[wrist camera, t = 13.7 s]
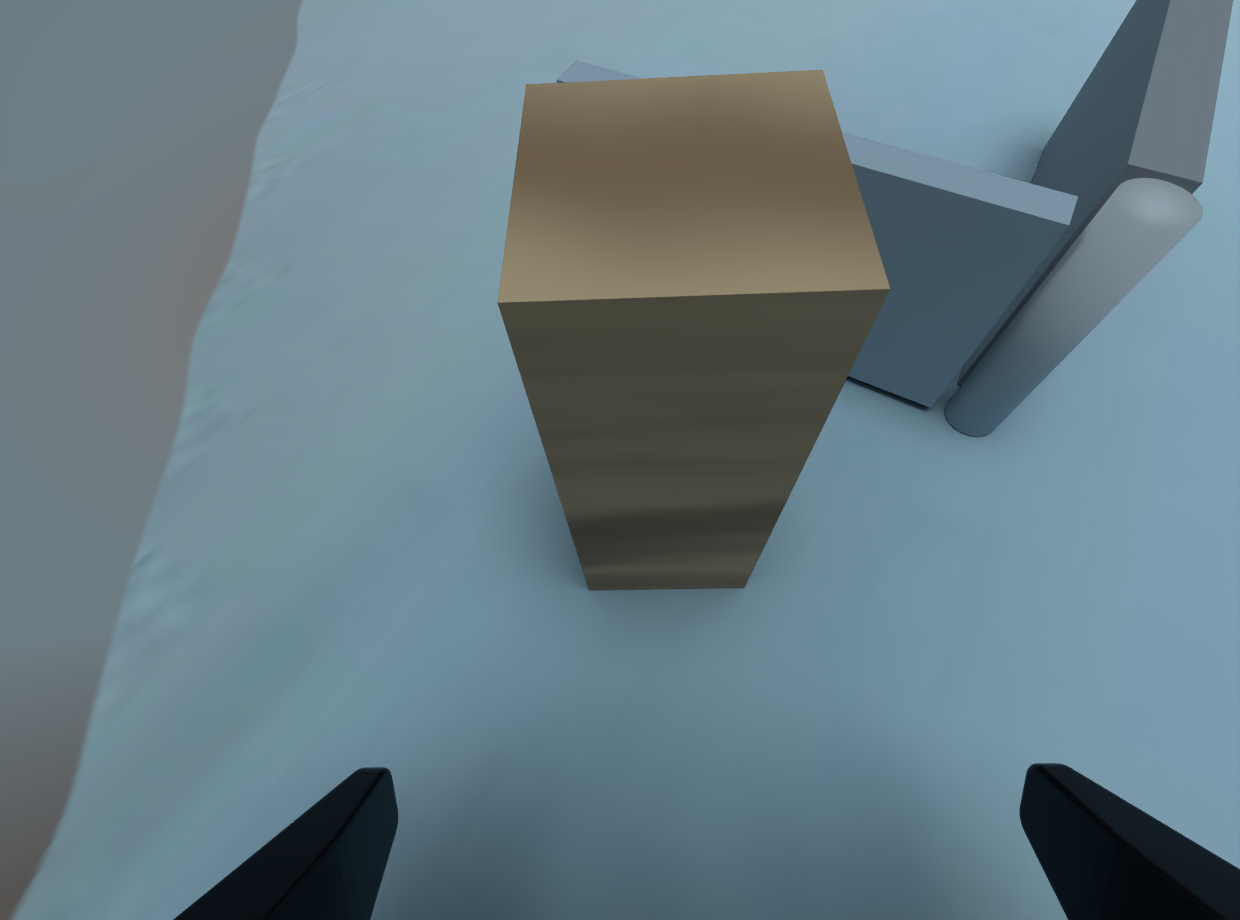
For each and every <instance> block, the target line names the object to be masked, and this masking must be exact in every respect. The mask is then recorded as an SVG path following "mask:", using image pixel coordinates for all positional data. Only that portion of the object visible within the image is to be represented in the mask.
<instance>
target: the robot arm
mask: <svg viewBox="0 0 1240 920" xmlns="http://www.w3.org/2000/svg"><path fill="white" fill-rule="evenodd" d="M1020 819H1021V824H1022V827H1023V829H1024V831H1025V834H1026V836H1027V838H1028V840H1029V842H1030V844H1031V846H1032V848H1033V850H1034V852H1035V854H1036V856H1037V858H1038V860H1039V862H1040V864H1041V866H1042V868H1043V870H1044V872H1045V874H1046V876H1047V878H1048V880H1049V882H1050V884H1051V886H1052V888H1053V890H1054V892H1055V894H1056V896H1057V898H1058V900H1059V902H1060V904H1061V906H1062V908H1063V910H1064V912H1065V914H1066V916H1067V918H1068V920H1240V869H1238V868H1237V867H1235V866H1233V865H1232V864H1230V863H1228V862H1227V861H1225V860H1223V859H1222V858H1220V857H1218V856H1217V855H1215V854H1213V853H1212V852H1210V851H1208V850H1207V849H1205V848H1203V847H1202V846H1200V845H1198V844H1197V843H1195V842H1193V841H1192V840H1190V839H1188V838H1187V837H1185V836H1183V835H1182V834H1180V833H1178V832H1177V831H1175V830H1173V829H1172V828H1170V827H1168V826H1167V825H1165V824H1163V823H1162V822H1160V821H1158V820H1157V819H1155V818H1153V817H1152V816H1150V815H1148V814H1147V813H1145V812H1143V811H1142V810H1140V809H1138V808H1137V807H1135V806H1133V805H1132V804H1130V803H1128V802H1127V801H1125V800H1123V799H1122V798H1120V797H1118V796H1117V795H1115V794H1113V793H1112V792H1110V791H1108V790H1107V789H1105V788H1103V787H1102V786H1100V785H1098V784H1097V783H1095V782H1093V781H1092V780H1090V779H1088V778H1087V777H1085V776H1083V775H1082V774H1080V773H1078V772H1077V771H1075V770H1073V769H1072V768H1070V767H1068V766H1066V765H1063V764H1058V763H1037V764H1032V765H1031V766H1030V767H1029V768H1028V770H1027V773H1026V778H1025V783H1024V788H1023V794H1022V799H1021V804H1020ZM397 825H398V808H397V802H396V797H395V791H394V785H393V780H392V775H391V772H390V771H389V769H387V768H384V767H374V768H360V769H358V770H357V771H355V772H354V773H353V774H351V775H350V776H349V777H348V778H347V779H345V780H344V781H343V782H342V783H340V784H339V785H338V786H337V787H335V788H334V789H333V790H332V791H331V792H329V793H328V794H327V795H326V796H324V797H323V798H322V799H321V800H320V801H318V802H317V803H316V804H315V805H313V806H312V807H311V808H310V809H308V810H307V811H306V812H305V813H304V814H302V815H301V816H300V817H299V818H297V819H296V820H295V821H294V822H293V823H291V824H290V825H289V826H288V827H286V828H285V829H284V830H283V831H281V832H280V833H279V834H278V835H277V836H275V837H274V838H273V839H272V840H270V841H269V842H268V843H267V844H266V845H264V846H263V847H262V848H261V849H259V850H258V851H257V852H256V853H254V854H253V855H252V856H251V857H250V858H248V859H247V860H246V861H245V862H243V863H242V864H241V865H240V866H239V867H237V868H236V869H235V870H234V871H232V872H231V873H230V874H229V875H227V876H226V877H225V878H224V879H223V880H221V881H220V882H219V883H218V884H216V885H215V886H214V887H213V888H212V889H210V890H209V891H208V892H207V893H205V894H204V895H203V896H202V897H200V898H199V899H198V900H197V901H196V902H194V903H193V904H192V905H191V906H189V907H188V908H187V909H186V910H185V911H183V912H182V913H181V914H180V915H178V916H177V917H176V918H175V919H173V920H370V918H371V915H372V911H373V908H374V905H375V901H376V898H377V894H378V891H379V888H380V884H381V881H382V878H383V874H384V871H385V867H386V864H387V861H388V857H389V854H390V850H391V847H392V844H393V840H394V837H395V834H396V830H397Z"/></svg>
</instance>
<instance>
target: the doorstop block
mask: <svg viewBox="0 0 1240 920" xmlns="http://www.w3.org/2000/svg"><path fill="white" fill-rule="evenodd" d="M889 290H890V286H889V283H888V280H887V277H886V273H885V270H884V267H883V264H882V260H881V257H880V254H879V251H878V248H877V244H876V241H875V238H874V235H873V231H872V228H871V225H870V222H869V218H868V215H867V212H866V209H865V206H864V202H863V199H862V196H861V193H860V189H859V186H858V183H857V180H856V176H855V173H854V170H853V167H852V164H851V160H850V157H849V154H848V151H847V147H846V144H845V141H844V138H843V134H842V131H841V128H840V125H839V122H838V118H837V115H836V112H835V109H834V105H833V102H832V99H831V96H830V93H829V89H828V86H827V83H826V80H825V76H824V73H823V70H809V71H789V72H769V73H749V74H728V75H708V76H688V77H668V78H647V79H627V80H607V81H587V82H566V83H546V84H526V90H525V98H524V105H523V113H522V121H521V128H520V136H519V143H518V151H517V159H516V166H515V174H514V181H513V189H512V197H511V204H510V212H509V219H508V227H507V235H506V242H505V250H504V257H503V265H502V273H501V280H500V288H499V295H498V306H499V309H500V312H501V315H502V318H503V321H504V325H505V328H506V331H507V334H508V337H509V340H510V343H511V346H512V350H513V353H514V356H515V359H516V362H517V365H518V368H519V372H520V375H521V378H522V381H523V384H524V387H525V390H526V394H527V397H528V400H529V403H530V406H531V409H532V412H533V415H534V419H535V422H536V425H537V428H538V431H539V434H540V437H541V441H542V444H543V447H544V450H545V453H546V456H547V459H548V463H549V466H550V469H551V472H552V475H553V478H554V481H555V484H556V488H557V491H558V494H559V497H560V500H561V503H562V506H563V510H564V513H565V516H566V519H567V522H568V525H569V528H570V532H571V535H572V538H573V541H574V544H575V547H576V550H577V553H578V557H579V560H580V563H581V566H582V569H583V572H584V575H585V579H586V582H587V585H588V588H589V590H636V589H698V588H744V587H745V585H746V583H747V581H748V579H749V577H750V575H751V573H752V571H753V569H754V567H755V565H756V563H757V561H758V559H759V557H760V555H761V553H762V550H763V548H764V546H765V544H766V542H767V540H768V538H769V536H770V534H771V532H772V530H773V528H774V526H775V524H776V522H777V520H778V518H779V516H780V514H781V512H782V510H783V507H784V505H785V503H786V501H787V499H788V497H789V495H790V493H791V491H792V489H793V487H794V485H795V483H796V481H797V479H798V477H799V475H800V473H801V471H802V469H803V467H804V465H805V462H806V460H807V458H808V456H809V454H810V452H811V450H812V448H813V446H814V444H815V442H816V440H817V438H818V436H819V434H820V432H821V430H822V428H823V426H824V424H825V422H826V419H827V417H828V415H829V413H830V411H831V409H832V407H833V405H834V403H835V401H836V399H837V397H838V395H839V393H840V391H841V389H842V387H843V385H844V383H845V381H846V379H847V376H848V374H849V372H850V370H851V368H852V366H853V364H854V362H855V360H856V358H857V356H858V354H859V352H860V350H861V348H862V346H863V344H864V342H865V340H866V338H867V336H868V333H869V331H870V329H871V327H872V325H873V323H874V321H875V319H876V317H877V315H878V313H879V311H880V309H881V307H882V305H883V303H884V301H885V299H886V297H887V295H888V293H889Z"/></svg>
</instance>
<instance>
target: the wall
mask: <svg viewBox="0 0 1240 920" xmlns="http://www.w3.org/2000/svg"><path fill="white" fill-rule="evenodd" d="M1232 4H1233V0H1136V2H1135V4H1134V5H1133V7H1132V8H1131V10H1130V12H1129V13H1128V15H1127V16H1126V18H1125V20H1124V21H1123V23H1122V24H1121V26H1120V28H1119V29H1118V31H1117V32H1116V34H1115V36H1114V37H1113V39H1112V40H1111V42H1110V44H1109V45H1108V47H1107V48H1106V50H1105V52H1104V53H1103V55H1102V56H1101V58H1100V60H1099V61H1098V63H1097V65H1096V66H1095V68H1094V69H1093V71H1092V73H1091V74H1090V76H1089V77H1088V79H1087V81H1086V82H1085V84H1084V85H1083V87H1082V89H1081V90H1080V92H1079V93H1078V95H1077V97H1076V98H1075V100H1074V101H1073V103H1072V105H1071V106H1070V108H1069V109H1068V111H1067V113H1066V114H1065V116H1064V117H1063V119H1062V121H1061V122H1060V124H1059V125H1058V127H1057V129H1056V130H1055V132H1054V133H1053V135H1052V137H1051V138H1050V140H1049V141H1048V143H1047V145H1046V146H1045V148H1044V150H1043V153H1042V156H1041V158H1040V161H1039V164H1038V166H1037V169H1036V172H1035V175H1034V177H1033V180H1032V183H1031V184H1034V185H1038V186H1041V187H1045V188H1049V189H1053V190H1056V191H1060V192H1064V193H1067V194H1071V195H1075V196H1078V199H1077V202H1076V205H1075V208H1074V211H1073V215H1072V218H1071V221H1070V224H1069V226H1068V228H1067V229H1066V230H1065V232H1064V233H1063V234H1062V236H1061V237H1060V238H1059V240H1058V241H1057V242H1056V243H1055V245H1054V246H1053V247H1052V249H1051V250H1050V251H1049V253H1048V254H1047V255H1046V257H1045V258H1044V259H1043V261H1042V262H1041V263H1040V265H1039V266H1038V267H1037V269H1036V270H1035V271H1034V273H1033V274H1032V275H1031V277H1030V278H1029V279H1028V281H1027V282H1026V283H1025V285H1024V286H1023V287H1022V288H1021V290H1020V291H1019V292H1018V294H1017V295H1016V296H1015V298H1014V299H1013V300H1012V302H1011V303H1010V304H1009V306H1008V307H1007V308H1006V310H1005V311H1004V312H1003V314H1002V315H1001V316H1000V318H999V319H998V320H997V322H996V323H995V324H994V326H993V327H992V328H991V330H990V331H989V332H988V333H987V335H986V336H985V337H984V339H983V340H982V341H981V343H980V344H979V345H978V347H977V348H976V349H975V351H974V352H973V353H972V355H971V356H970V357H969V359H968V360H967V361H966V363H965V364H964V367H963V370H962V372H961V375H960V378H959V380H958V383H957V384H959V385H961V386H960V388H959V389H958V390H957V392H956V393H955V394H954V395H953V397H952V398H951V399H950V400H949V402H948V403H947V405H946V408H945V414H946V418H947V420H948V421H949V423H950V424H951V425H952V426H953V427H954V428H955V429H956V430H958V431H959V432H961V433H963V434H966V435H969V436H977V437H979V436H985V435H988V434H990V433H991V432H992V431H993V430H994V429H995V428H996V427H997V426H998V425H999V424H1000V423H1001V422H1002V421H1003V420H1004V419H1005V418H1006V417H1007V416H1008V415H1009V414H1010V413H1011V412H1012V411H1013V410H1014V409H1015V408H1016V407H1017V406H1018V405H1019V404H1020V403H1021V402H1022V401H1023V400H1024V399H1025V398H1026V397H1027V396H1028V395H1029V394H1030V393H1031V392H1032V391H1033V390H1034V389H1035V388H1036V387H1037V386H1038V385H1039V384H1040V383H1041V382H1042V381H1043V380H1044V379H1045V378H1046V377H1047V375H1048V374H1049V373H1050V372H1051V371H1052V370H1053V369H1054V368H1055V367H1056V366H1057V365H1058V364H1059V363H1060V362H1061V361H1062V360H1063V359H1064V358H1065V357H1066V356H1067V355H1068V354H1069V353H1070V352H1071V351H1072V350H1073V349H1074V348H1075V347H1076V346H1077V345H1078V344H1079V343H1080V342H1081V341H1082V340H1083V339H1084V338H1085V337H1086V336H1087V335H1088V334H1089V333H1090V332H1091V331H1092V330H1093V329H1094V328H1095V327H1096V326H1097V325H1098V324H1099V323H1100V322H1101V321H1102V320H1103V318H1104V317H1105V316H1106V315H1107V314H1108V313H1109V312H1110V311H1111V310H1112V309H1113V308H1114V307H1115V306H1116V305H1117V304H1118V303H1119V302H1120V301H1121V300H1122V299H1123V298H1124V297H1125V296H1126V295H1127V294H1128V293H1129V292H1130V291H1131V290H1132V289H1133V288H1134V287H1135V286H1136V285H1137V284H1138V283H1139V282H1140V281H1141V280H1142V279H1143V278H1144V277H1145V276H1146V275H1147V274H1148V273H1149V272H1150V271H1151V270H1152V269H1153V268H1154V267H1155V266H1156V265H1157V264H1158V262H1159V261H1160V260H1161V259H1162V258H1163V257H1164V256H1165V255H1166V254H1167V253H1168V252H1169V251H1170V250H1171V249H1172V248H1173V247H1174V246H1175V245H1176V244H1177V243H1178V242H1179V241H1180V240H1181V239H1182V238H1183V237H1184V236H1185V235H1186V234H1187V233H1188V232H1189V231H1190V230H1191V229H1192V228H1193V227H1194V226H1195V225H1196V224H1197V223H1198V222H1199V221H1200V219H1201V218H1202V207H1201V205H1200V203H1199V202H1198V200H1197V199H1196V198H1195V197H1194V196H1193V195H1192V194H1193V192H1194V191H1195V190H1196V189H1197V188H1198V187H1199V186H1200V185H1201V184H1202V183H1203V177H1204V171H1205V165H1206V159H1207V153H1208V147H1209V141H1210V135H1211V129H1212V123H1213V117H1214V111H1215V105H1216V99H1217V93H1218V87H1219V81H1220V75H1221V69H1222V64H1223V58H1224V52H1225V46H1226V40H1227V34H1228V28H1229V22H1230V16H1231V10H1232Z"/></svg>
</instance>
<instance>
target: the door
mask: <svg viewBox="0 0 1240 920" xmlns="http://www.w3.org/2000/svg"><path fill="white" fill-rule="evenodd" d="M627 79H642V78H639V77H635V76H631V75H628V74H624V73H620V72H617V71H613V70H609V69H605V68H602V67H598V66H594V65H591V64H587V63H583V62H580V61H576V62H575V63H574V64H573V65H572V66H571V67H569V68H568V69H567V70H566V71H565V72H564V73H563V74H562V75H561V76H560V77H559V78H558V79H557V83H566V82H587V81H607V80H627ZM842 134H843V138H844V141H845V144H846V147H847V151H848V154H849V157H850V160H851V164H852V167H853V170H854V173H855V176H856V180H857V183H858V186H859V189H860V193H861V196H862V199H863V202H864V206H865V209H866V212H867V215H868V218H869V222H870V225H871V228H872V231H873V235H874V238H875V241H876V244H877V248H878V251H879V254H880V257H881V260H882V264H883V267H884V270H885V273H886V277H887V280H888V283H889V286H890V290H889V293H888V295H887V297H886V299H885V301H884V303H883V305H882V307H881V309H880V311H879V313H878V315H877V317H876V319H875V321H874V323H873V325H872V327H871V329H870V331H869V333H868V336H867V338H866V340H865V342H864V344H863V346H862V348H861V350H860V352H859V354H858V356H857V358H856V360H855V362H854V364H853V366H852V368H851V370H850V372H849V374H848V376H850V377H852V378H855V379H857V380H860V381H863V382H865V383H868V384H870V385H873V386H876V387H878V388H881V389H883V390H886V391H888V392H891V393H894V394H896V395H899V396H901V397H904V398H907V399H909V400H912V401H914V402H917V403H919V404H922V405H925V406H927V407H930V408H932V406H933V405H934V404H935V402H936V401H937V400H938V398H939V397H940V396H941V394H942V393H943V392H944V390H945V389H946V388H947V386H948V385H949V384H950V382H951V381H952V380H953V378H954V377H955V376H956V375H957V373H958V372H959V371H960V369H961V368H962V367H963V365H964V364H965V363H966V361H967V360H968V359H969V357H970V356H971V355H972V353H973V352H974V351H975V349H976V348H977V347H978V345H979V344H980V343H981V341H982V340H983V339H984V337H985V336H986V335H987V333H988V332H989V331H990V330H991V328H992V327H993V326H994V324H995V323H996V322H997V320H998V319H999V318H1000V316H1001V315H1002V314H1003V312H1004V311H1005V310H1006V308H1007V307H1008V306H1009V304H1010V303H1011V302H1012V300H1013V299H1014V298H1015V296H1016V295H1017V294H1018V292H1019V291H1020V290H1021V288H1022V287H1023V286H1024V285H1025V283H1026V282H1027V281H1028V279H1029V278H1030V277H1031V275H1032V274H1033V273H1034V271H1035V270H1036V269H1037V267H1038V266H1039V265H1040V263H1041V262H1042V261H1043V259H1044V258H1045V257H1046V255H1047V254H1048V253H1049V251H1050V250H1051V249H1052V247H1053V246H1054V245H1055V243H1056V242H1057V241H1058V240H1059V238H1060V237H1061V236H1062V234H1063V233H1064V232H1065V230H1066V229H1067V228H1068V226H1069V224H1070V221H1071V218H1072V215H1073V211H1074V208H1075V205H1076V202H1077V199H1078V196H1075V195H1071V194H1067V193H1064V192H1060V191H1056V190H1053V189H1049V188H1045V187H1041V186H1038V185H1034V184H1030V183H1027V182H1023V181H1019V180H1016V179H1012V178H1008V177H1005V176H1001V175H997V174H993V173H990V172H986V171H982V170H979V169H975V168H971V167H968V166H964V165H960V164H956V163H953V162H949V161H945V160H942V159H938V158H934V157H931V156H927V155H923V154H920V153H916V152H912V151H908V150H905V149H901V148H897V147H894V146H890V145H886V144H883V143H879V142H875V141H871V140H868V139H864V138H860V137H857V136H853V135H849V134H846V133H842Z"/></svg>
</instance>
